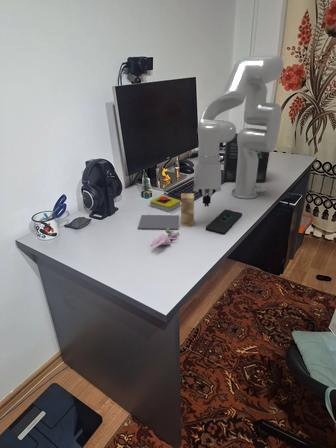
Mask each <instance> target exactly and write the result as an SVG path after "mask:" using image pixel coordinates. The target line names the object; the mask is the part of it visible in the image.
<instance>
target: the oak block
mask: <svg viewBox="0 0 336 448" xmlns="http://www.w3.org/2000/svg"><path fill="white" fill-rule="evenodd" d="M180 204H181V210H180V227H194V226H195V225H194V223H195V222H194V219H195V218H194V217H195V216H194V215H195V214H194V213H195V193H192V192H191V193H188V192H187V193H181V194H180Z"/></svg>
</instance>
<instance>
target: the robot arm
mask: <svg viewBox="0 0 336 448" xmlns="http://www.w3.org/2000/svg"><path fill="white" fill-rule="evenodd" d="M283 69H284V60H283V58H282V57H281V56H280V55H253V56H252V55H250V56H246V57H244V58H242V59H240V60H238V61H237V62H235V64H234V66H233V68H232V70H231V73H230V75H229V78H228V80H227V83H226V85H225V87H224V90H223V92H222V93H221V94H220V95H218V96H216V98H214V99H213V100H212V101H211V102H210V103H209V104H208V105H207V106H205V108H204V110H203V112H202V115H201V117H200V119H199V122H198V125H197V135H198V153H197V158H198V160H197V161H196V162H195V165H194V166H195V167H194V173H193V174H194V175H193V189H192V191H193V192H196V193H199V194H200V195H201V196H202V204H204V207H210V204H211V197H212V196H213V195H214V194H215V193H219V192H221V191H222V187H221V186H222V166H221V164H222V163H221V160H223V159H224V156H223V155H220V146H221V144H223V143H224V144H226V142H229V141H231V140H232V139H233V138H234V137H235V134H236V133H237V127H236V125H235V123H233V122H231V121H228V120H219V119H216V117H217V116H219V115H220V114H222V113H224V112H226V111H228V110H232V109H234V108H237V107H239V106H241V105H242V104H243V103H244V111H243V121H244V123H245V124H247V125H249V126H250V125H252V126H260V127H266V129H264V128H257V127H256V128H255V127H246V128H242V129H241V130H239V132H238V136H237V144H238V162H237V173H236V182H235V186H234V187H235V188H234V189H232V190H231V195H232V196H233V197H235V198H237V199H242V200H243V199H245V200H249V199H250V200H251V199H255V198H257V197H258V195H259V193H260V192H261V193H265V192H266V187H262V186H257V185H256V184H257V183H256V178H257V169H258V156H257V154H256V152H255V151H261V152H269V153H272V152H274V150H275V149H276V147H277V145H278V139H279V134H280V133H279V132H280V127H281V122H282V116H283V115H282V113H283V111H282V107H281V105H280V104H278V103H275V102H267V95H268V87H267V85H266V84H269V83H271V82H273V81H276V80H277V79H279V78H280V76H281V75H282V72H283ZM244 101H245V102H244ZM223 161H224V160H223ZM206 190H208V193H206Z"/></svg>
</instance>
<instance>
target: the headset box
mask: <svg viewBox="0 0 336 448" xmlns="http://www.w3.org/2000/svg"><path fill="white" fill-rule="evenodd" d="M238 133H239V132H238ZM238 133H237V132H236V134H235V137H234V138H233V139H232V140H231V141H229V142H226V143H225V147H224V148H225V149H224V150H225V151H224V157H223V159H224V160H223V169H222V170H223V172H222V179H224V180H223V182H226V183H227V182H229V183H232V182H234V183H236V173H237V162H238V144H237V136H238ZM255 152H256V154H257V156H258V169H257V178H256V184H258V183H259V184H260V183H262V184H264V183H266V180H267V179H266V178H267V173H268V170H267V169H268V167H269V166H268V165H269V160H270V159H269V158H270V152H261V151H255Z"/></svg>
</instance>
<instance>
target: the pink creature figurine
mask: <svg viewBox="0 0 336 448" xmlns="http://www.w3.org/2000/svg"><path fill="white" fill-rule="evenodd" d="M165 233H166V234H167V235H166V234H164V233H162V234H161V235H160V236H158V238H155V239H152V242H151V246H152V247H154V246H155V247H154V248H157V247H159V246H166V245H167V246H168V245H170V244H171V242H172V241H171V240H177V239H178V236H180V232H179V231H177V232H174V230H169V228H167V229H166V230H165Z"/></svg>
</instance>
